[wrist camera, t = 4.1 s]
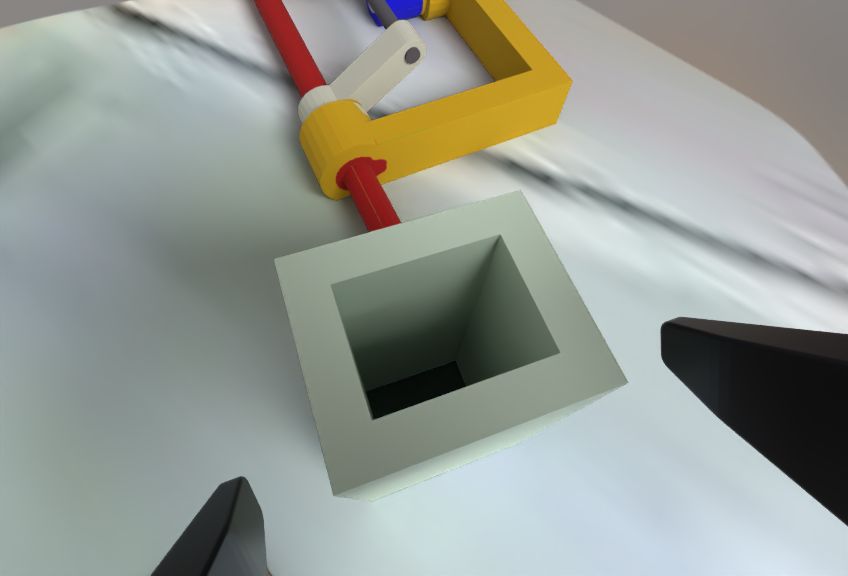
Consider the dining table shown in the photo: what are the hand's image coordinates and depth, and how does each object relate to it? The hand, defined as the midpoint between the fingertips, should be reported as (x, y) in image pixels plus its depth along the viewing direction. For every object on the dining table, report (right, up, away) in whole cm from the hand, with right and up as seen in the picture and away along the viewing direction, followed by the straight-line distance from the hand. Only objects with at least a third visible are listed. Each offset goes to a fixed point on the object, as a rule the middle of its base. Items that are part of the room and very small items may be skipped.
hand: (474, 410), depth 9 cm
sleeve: (-1, -3, +9) cm, 10 cm away
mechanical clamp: (-2, +19, +20) cm, 28 cm away
